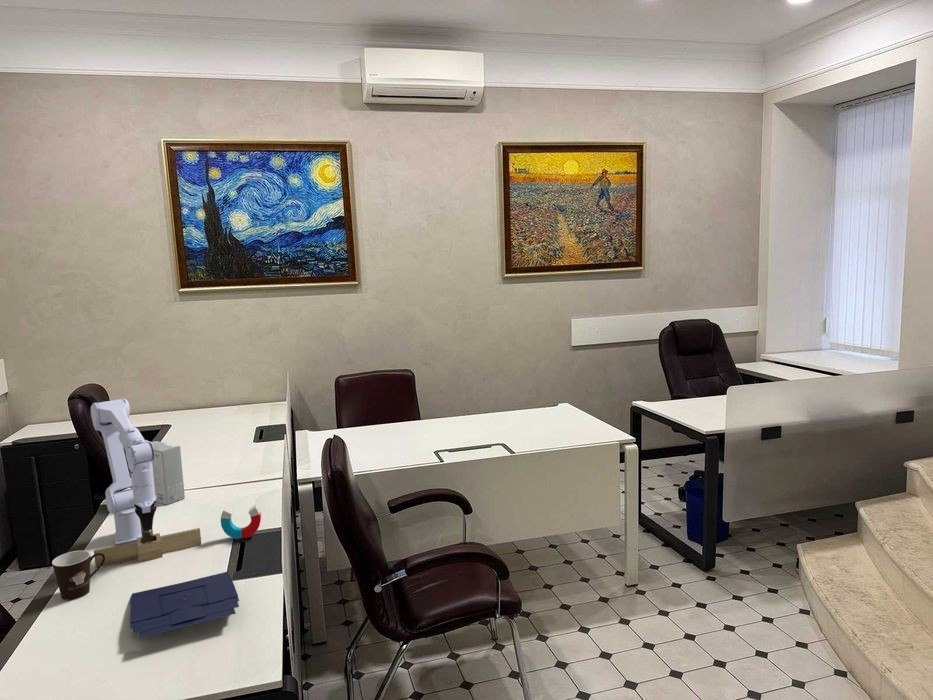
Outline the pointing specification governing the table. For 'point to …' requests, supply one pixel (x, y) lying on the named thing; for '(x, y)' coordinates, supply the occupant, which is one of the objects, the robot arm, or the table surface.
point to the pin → (146, 532)
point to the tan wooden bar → (148, 547)
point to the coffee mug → (74, 573)
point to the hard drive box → (167, 473)
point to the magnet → (236, 531)
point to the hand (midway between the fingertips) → (147, 527)
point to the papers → (182, 604)
